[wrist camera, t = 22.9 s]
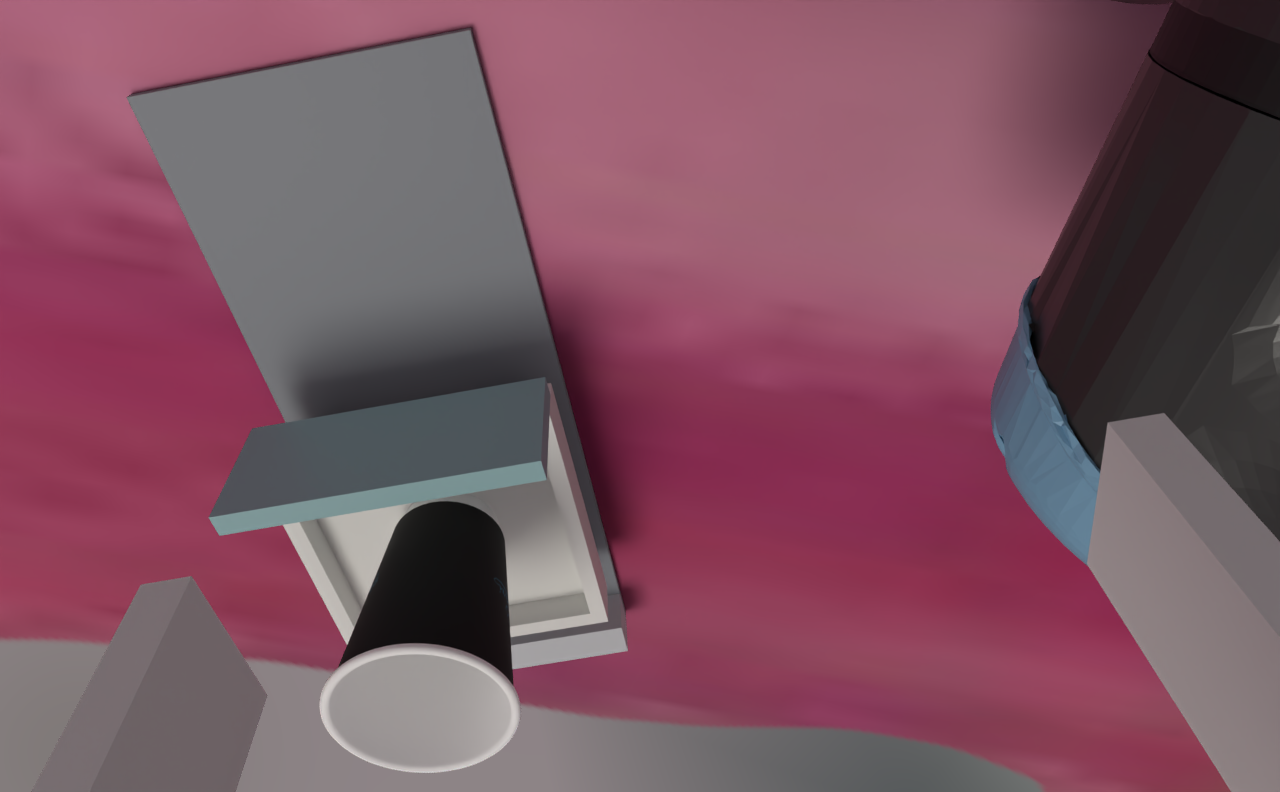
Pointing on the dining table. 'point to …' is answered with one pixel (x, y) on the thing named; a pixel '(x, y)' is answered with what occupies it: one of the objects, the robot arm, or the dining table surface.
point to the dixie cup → (430, 647)
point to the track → (372, 244)
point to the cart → (426, 495)
